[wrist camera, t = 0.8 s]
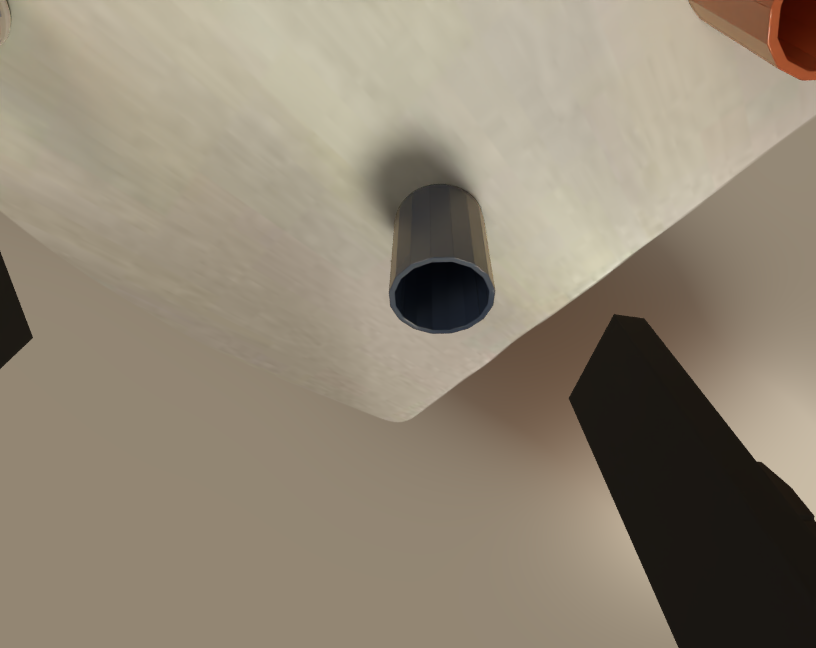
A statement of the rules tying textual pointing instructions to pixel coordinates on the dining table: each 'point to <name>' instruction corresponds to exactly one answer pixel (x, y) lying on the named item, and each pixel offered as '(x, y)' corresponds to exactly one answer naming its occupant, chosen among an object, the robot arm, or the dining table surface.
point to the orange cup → (768, 30)
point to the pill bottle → (4, 21)
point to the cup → (440, 261)
